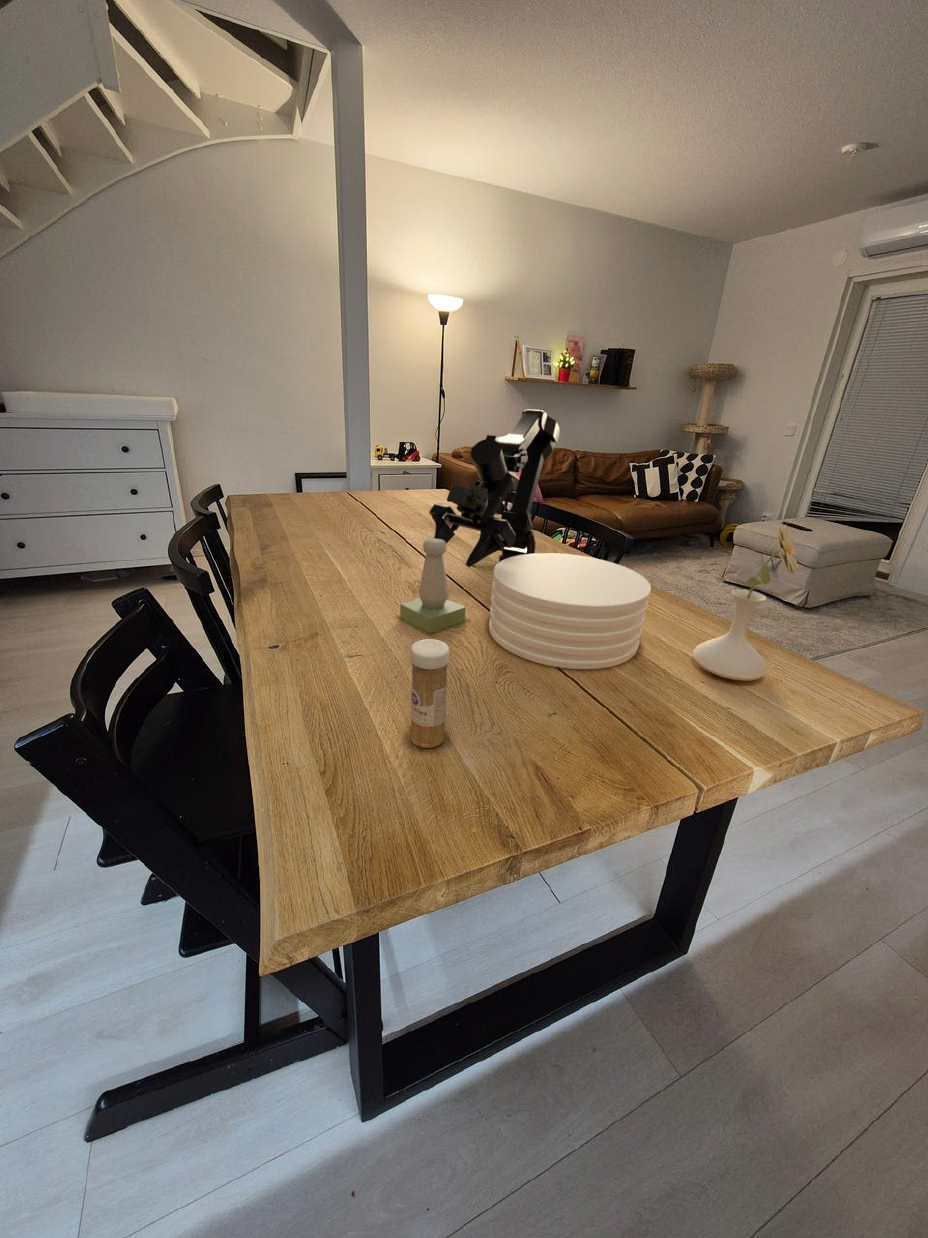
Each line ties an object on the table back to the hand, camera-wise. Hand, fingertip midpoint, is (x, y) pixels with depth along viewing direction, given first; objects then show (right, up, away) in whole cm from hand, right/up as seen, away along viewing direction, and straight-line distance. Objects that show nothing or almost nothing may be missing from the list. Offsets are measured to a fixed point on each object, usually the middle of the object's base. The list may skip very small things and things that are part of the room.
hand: (449, 559), depth 97 cm
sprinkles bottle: (-2, -27, -32) cm, 42 cm away
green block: (-3, -12, +2) cm, 12 cm away
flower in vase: (+48, -20, -11) cm, 53 cm away
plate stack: (+22, -14, -1) cm, 26 cm away
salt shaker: (-3, -9, +1) cm, 9 cm away
